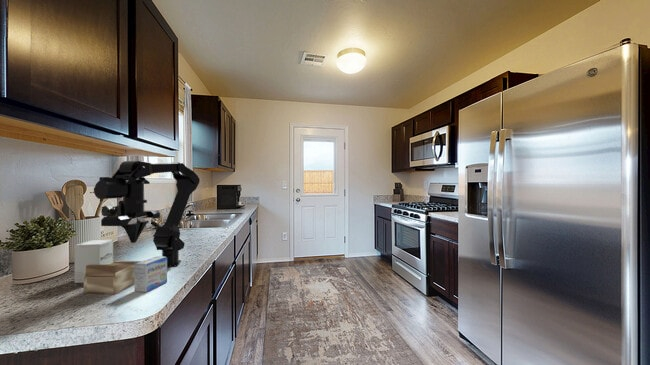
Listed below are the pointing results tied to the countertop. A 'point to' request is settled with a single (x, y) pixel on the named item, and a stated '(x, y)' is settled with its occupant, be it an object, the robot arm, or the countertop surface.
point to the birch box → (110, 281)
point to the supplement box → (92, 256)
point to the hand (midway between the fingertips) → (133, 242)
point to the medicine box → (150, 273)
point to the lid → (106, 269)
